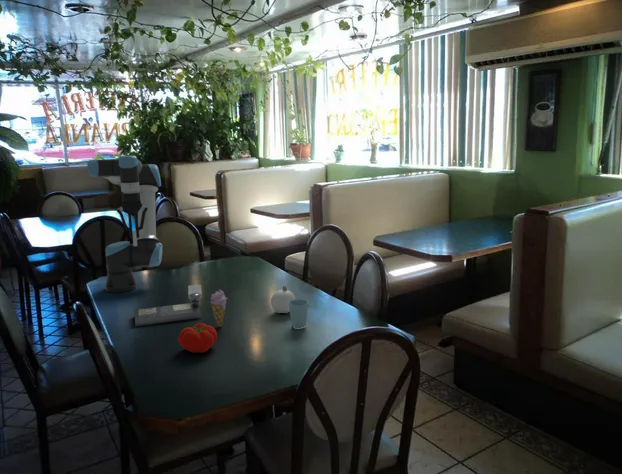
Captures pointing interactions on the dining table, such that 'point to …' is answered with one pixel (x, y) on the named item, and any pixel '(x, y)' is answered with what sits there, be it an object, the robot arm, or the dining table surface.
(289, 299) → the ornament
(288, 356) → the dining table surface
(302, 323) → the cup
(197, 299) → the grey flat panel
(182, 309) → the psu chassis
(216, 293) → the ice cream cone
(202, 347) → the tomato
